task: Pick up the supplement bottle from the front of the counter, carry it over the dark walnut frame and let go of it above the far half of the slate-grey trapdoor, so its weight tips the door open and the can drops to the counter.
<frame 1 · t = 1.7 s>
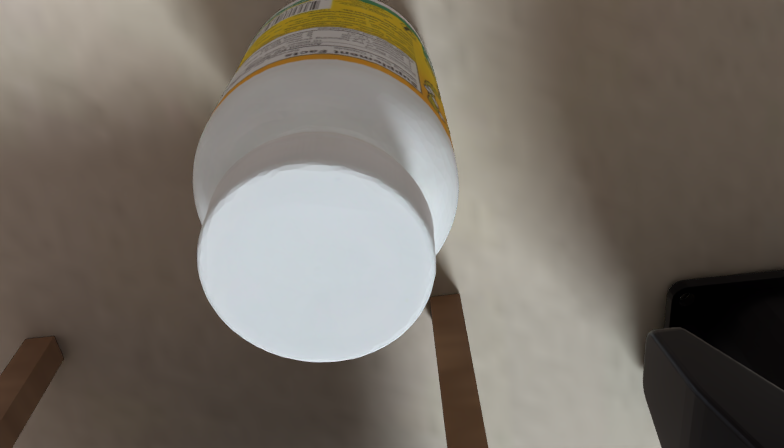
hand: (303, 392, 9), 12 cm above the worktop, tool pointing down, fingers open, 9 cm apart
supplement bottle: (340, 84, 20), on the worktop
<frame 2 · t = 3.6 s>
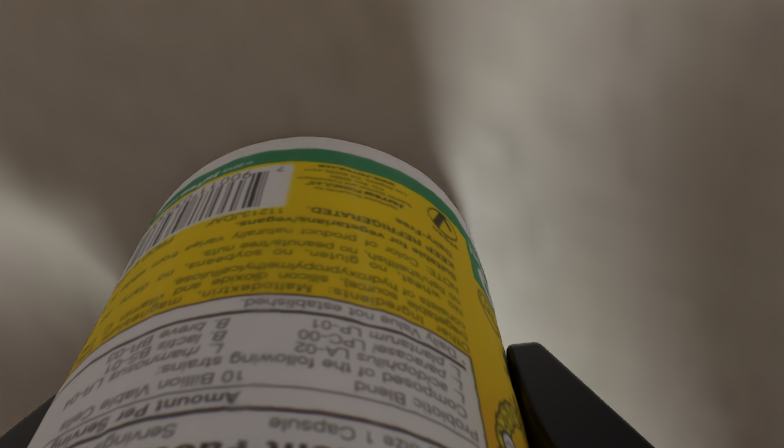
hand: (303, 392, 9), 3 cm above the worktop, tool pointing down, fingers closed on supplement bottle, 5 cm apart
supplement bottle: (317, 276, 12), on the worktop, touching gripper
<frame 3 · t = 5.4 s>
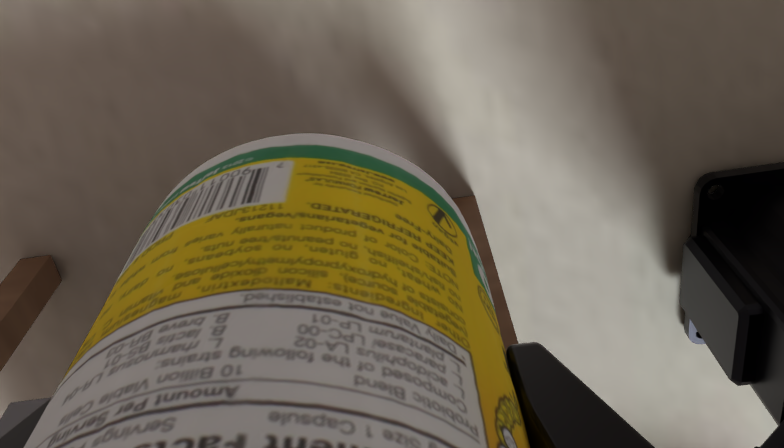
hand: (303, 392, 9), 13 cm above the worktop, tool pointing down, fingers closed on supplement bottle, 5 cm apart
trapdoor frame: (301, 430, 27), on the worktop
supplement bottle: (317, 273, 12), point 10 cm above the worktop, touching gripper
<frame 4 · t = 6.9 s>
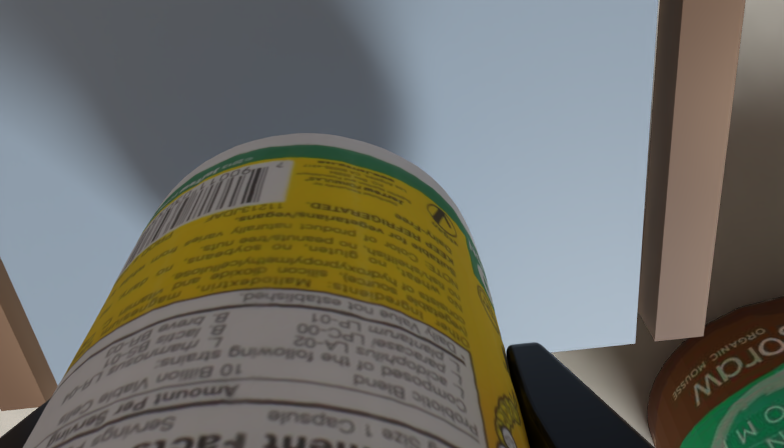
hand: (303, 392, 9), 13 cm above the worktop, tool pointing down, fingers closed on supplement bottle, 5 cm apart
food container: (722, 356, 26), on the worktop
trapdoor: (285, 19, 12), point 8 cm above the worktop, hinge at 0.0°
supplement bottle: (316, 273, 12), point 10 cm above the worktop, touching gripper
when the fingers open (13 cm above the worktop, at t = 7.3 s): supplement bottle drops 6 cm, resting on trapdoor.
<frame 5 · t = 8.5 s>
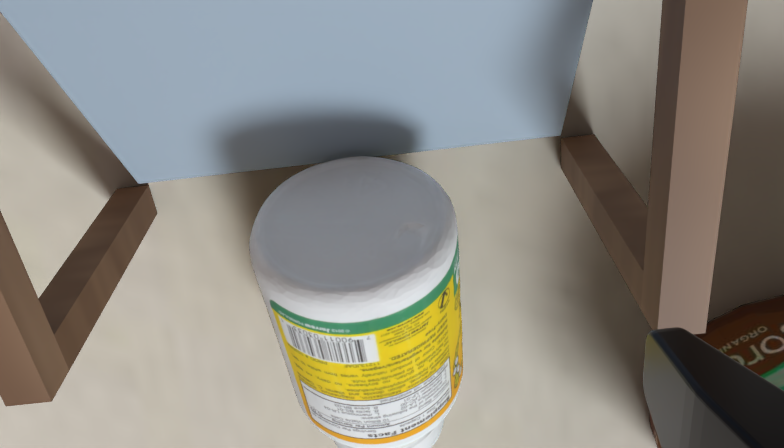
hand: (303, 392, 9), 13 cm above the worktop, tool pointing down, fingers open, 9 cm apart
food container: (724, 354, 26), on the worktop
supplement bottle: (349, 210, 18), point 5 cm above the worktop, touching trapdoor
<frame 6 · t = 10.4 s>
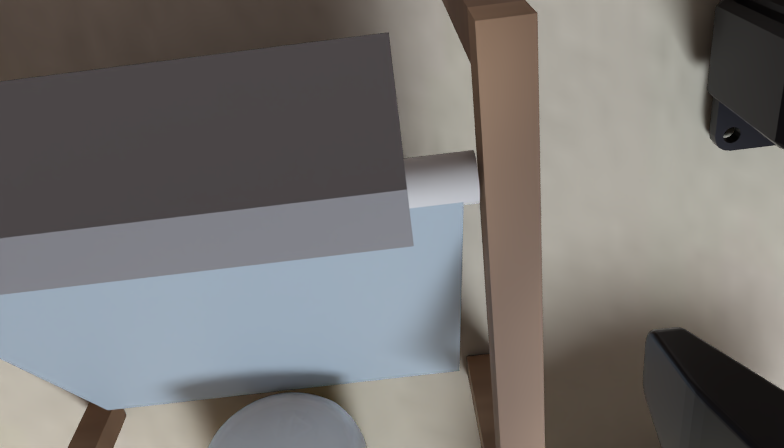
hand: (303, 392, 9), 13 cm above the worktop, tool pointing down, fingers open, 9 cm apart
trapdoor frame: (262, 260, 23), on the worktop
trapdoor: (218, 302, 18), point 5 cm above the worktop, hinge at -34.3°, touching supplement bottle
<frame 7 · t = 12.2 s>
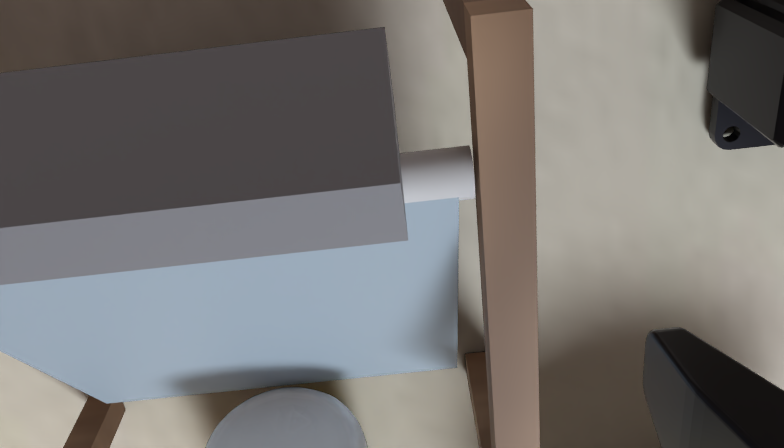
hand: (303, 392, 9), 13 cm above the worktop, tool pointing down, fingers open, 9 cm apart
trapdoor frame: (262, 255, 23), on the worktop
trapdoor: (216, 296, 18), point 5 cm above the worktop, hinge at -34.4°, touching supplement bottle
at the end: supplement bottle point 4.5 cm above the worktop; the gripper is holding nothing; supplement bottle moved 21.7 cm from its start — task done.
